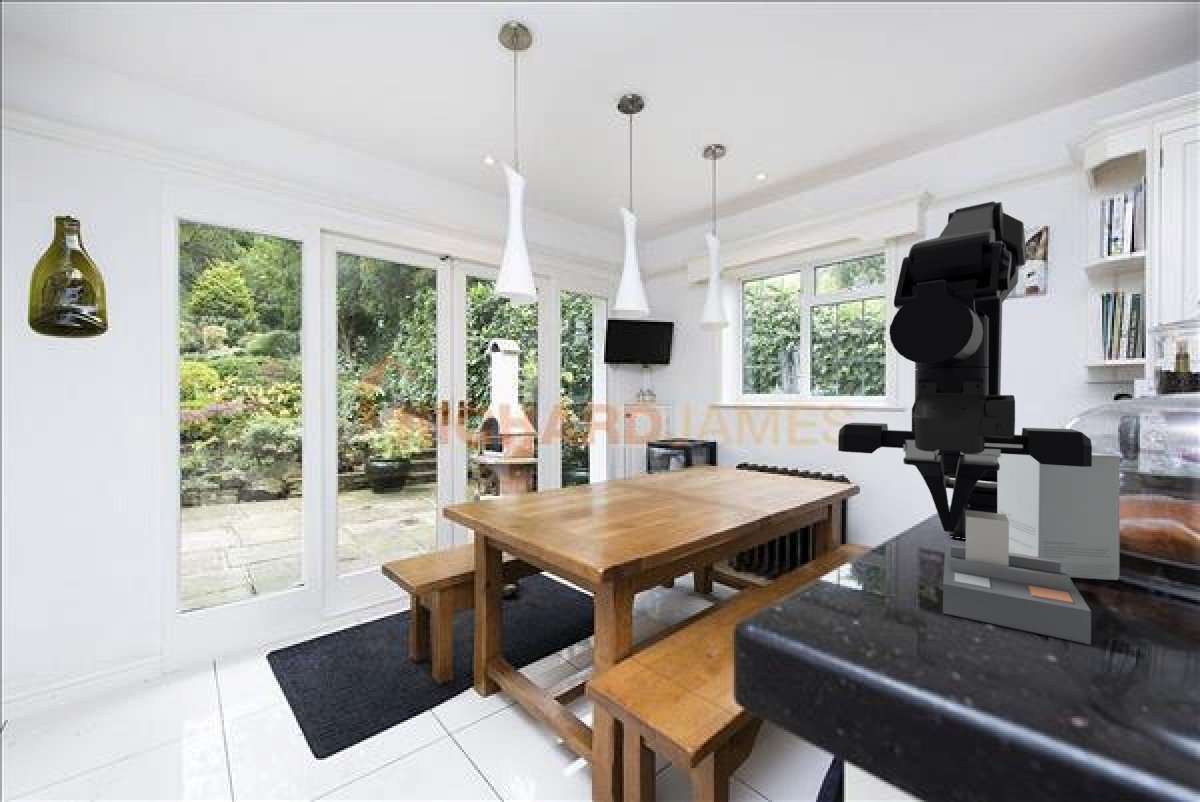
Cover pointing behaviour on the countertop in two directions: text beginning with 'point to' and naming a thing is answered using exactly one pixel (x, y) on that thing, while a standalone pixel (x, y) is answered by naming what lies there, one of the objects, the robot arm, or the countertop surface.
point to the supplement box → (1063, 512)
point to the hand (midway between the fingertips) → (949, 531)
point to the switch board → (1016, 595)
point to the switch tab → (987, 537)
